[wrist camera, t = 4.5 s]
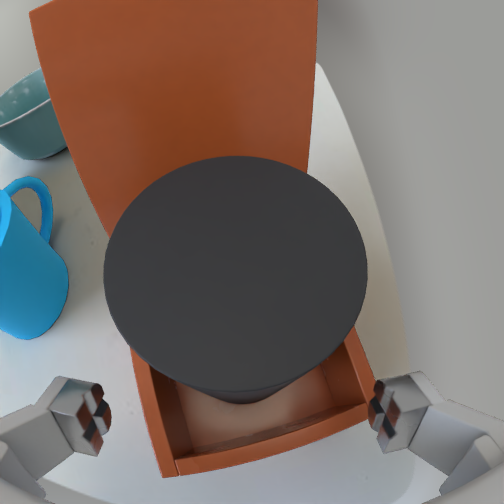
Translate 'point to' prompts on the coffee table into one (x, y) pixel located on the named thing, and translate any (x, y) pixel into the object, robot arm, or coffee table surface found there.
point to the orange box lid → (175, 86)
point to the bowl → (30, 119)
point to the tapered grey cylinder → (235, 276)
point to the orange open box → (252, 414)
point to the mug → (29, 266)
